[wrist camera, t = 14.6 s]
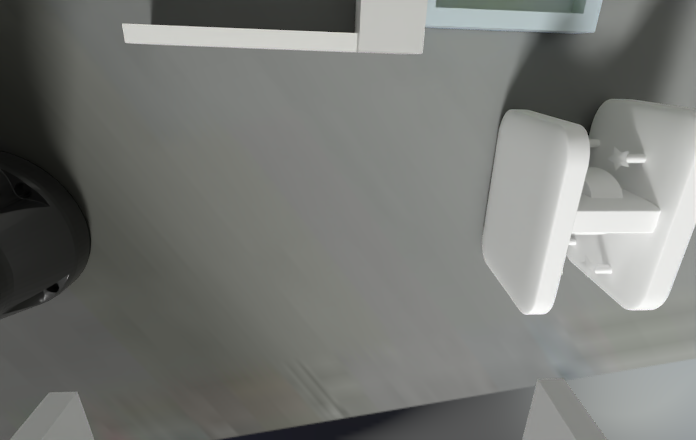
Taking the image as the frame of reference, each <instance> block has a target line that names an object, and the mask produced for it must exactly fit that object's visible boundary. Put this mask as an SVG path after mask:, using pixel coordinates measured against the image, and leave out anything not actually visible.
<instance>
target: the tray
mask: <svg viewBox="0 0 696 440" xmlns="http://www.w3.org/2000/svg"><path fill="white" fill-rule="evenodd" d="M602 1H603V0H428V4H427V14H426V24H425V28H442V29H466V30H490V31H514V32H538V33H563V34H582V33H593V32H595V29H596V25H597V21H598V17H599V13H600V9H601V5H602Z"/></svg>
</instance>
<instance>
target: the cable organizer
mask: <svg viewBox="0 0 696 440" xmlns="http://www.w3.org/2000/svg"><path fill="white" fill-rule="evenodd" d="M695 225H696V109H695V108H688V107H681V106H674V105H668V104H661V103H654V102H647V101H641V100H634V99H609V100H607V101H605V102H604V103H603V104H602V105H601V106H600V107H599V109H598V110H597V112H596V114H595V116H594V119H593V122H592V125H591V129H590V133H589V137H588V134H587V131H586V130H585V128H584V127H583V126H581V125H579V124H576V123H573V122H569V121H566V120H562V119H559V118H555V117H552V116H548V115H545V114H541V113H538V112H534V111H531V110H526V109H510V110H508V111H507V112H506V113H505V115H504V117H503V119H502V121H501V124H500V128H499V132H498V139H497V145H496V152H495V158H494V165H493V171H492V178H491V184H490V191H489V197H488V204H487V210H486V217H485V223H484V230H483V237H482V251H483V257H484V260H485V262H486V264H487V265H488V267H489V268H490V269H491V271H492V272H493V274H494V275H495V276H496V278H497V279H498V280H499V282H500V283H501V285H502V286H503V287H504V289H505V290H506V292H507V293H508V294H509V296H510V297H511V299H512V300H513V301H514V303H515V304H516V306H517V307H518V308H519V310H520V311H521V312H522V313H523V314H546V313H547V312H549V311H550V309H551V308H552V306H553V304H554V301H555V298H556V294H557V290H558V286H559V282H560V278H561V274H563V271H562V270H563V266H564V262H565V258H566V254H567V257H568V259H569V260H570V261H571V262H572V263H573V264H574V265H575V266H577V267H578V268H579V269H580V270H581V271H582V272H583V273H584V274H586V277H587V276H588V277H589V278H590V279H591V280H592V281H594V282H595V283H596V284H597V285H598V286H599V287H600V288H601V289H603V290H604V291H605V292H606V293H607V294H608V295H609V296H610V297H612V298H613V299H614V300H615V301H616V302H617V303H618V304H620V305H621V306H622V307H623V308H625V309H627V310H653V309H656V308H658V307H660V306H661V305H662V304H663V303H664V302H665V300H666V299H667V297H668V295H669V293H670V291H671V288H672V285H673V283H674V280H675V277H676V275H677V272H678V269H679V267H680V264H681V262H682V259H683V256H685V251H686V248H687V246H688V243H689V240H690V238H691V235H692V233H693V230H694V227H695Z"/></svg>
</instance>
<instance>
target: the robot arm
mask: <svg viewBox="0 0 696 440" xmlns="http://www.w3.org/2000/svg"><path fill="white" fill-rule="evenodd" d="M89 252H90V238H89V232H88V228H87V224H86V221H85V219H84V217H83V214H82V212H81V210H80V209H79V207H78V205H77V204H76V202H75V201H74V199H73V198H72V197H71V195H70V194H69V193H68V192H67V191H66V189H65V188H64V187H63V186H62V185H61V184H60V183H59V182H58V181H57V180H55V179H54V178H53V177H52V176H51V175H49V174H48V173H47V172H45V171H44V170H42V169H41V168H39V167H38V166H36V165H34V164H32V163H31V162H29V161H27V160H25V159H22V158H20V157H18V156H15V155H12V154H9V153H6V152H2V151H0V319H2V318H5V317H8V316H10V315H13V314H16V313H18V312H21V311H24V310H26V309H29V308H32V307H34V306H37V305H40V304H42V303H45V302H47V301H49V300H51V299H52V298H54V297H56V296H57V295H59V294H60V293H61V292H62V291H64V290H65V289H66V288H67V287H68V286H69V285H71V284H72V283H73V282H74V281H75V280H76V279H77V278H78V277H79V276H80V274H81V273H82V272H83V270H84V268H85V266H86V264H87V261H88V257H89ZM10 440H94V438H93V435H92V432H91V429H90V426H89V423H88V421H87V418H86V415H85V412H84V409H83V406H82V404H81V401H80V398H79V395H78V392H51V393H48V395H47V396H46V397H45V398H44V399H43V401H42V402H41V403H40V404H39V405H38V407H37V408H36V409H35V410H34V411H33V413H32V414H31V415H30V416H29V417H28V419H27V420H26V421H25V422H24V423H23V425H22V426H21V427H20V428H19V429H18V431H17V432H16V433H15V434H14V435H13V437H12V438H11V439H10ZM522 440H607V439H606V437H605V436H604V434H603V433H602V432H601V430H600V429H599V428H598V426H597V425H596V423H595V422H594V421H593V419H592V418H591V416H590V415H589V414H588V412H587V411H586V409H585V408H584V407H583V405H582V404H581V402H580V401H579V399H578V398H577V397H576V396H575V394H574V393H573V391H572V390H571V388H570V387H569V386H568V384H567V383H566V381H565V380H564V379H563V378H555V379H538V380H537V384H536V388H535V392H534V396H533V400H532V404H531V408H530V412H529V416H528V419H527V423H526V428H525V431H524V435H523V439H522Z"/></svg>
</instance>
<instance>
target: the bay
mask: <svg viewBox="0 0 696 440" xmlns="http://www.w3.org/2000/svg"><path fill="white" fill-rule="evenodd" d="M427 4H428V0H356V10H355V33H342V32H317V31H293V30H268V29H243V28H218V27H194V26H169V25H144V24H122V27H123V33H124V39H125V43H135V44H152V45H177V46H202V47H228V48H254V49H280V50H306V51H332V52H357V53H383V54H423V44H424V34H425V24H426V14H427Z"/></svg>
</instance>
